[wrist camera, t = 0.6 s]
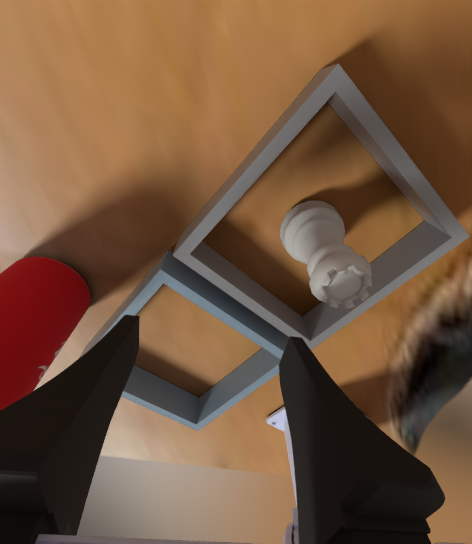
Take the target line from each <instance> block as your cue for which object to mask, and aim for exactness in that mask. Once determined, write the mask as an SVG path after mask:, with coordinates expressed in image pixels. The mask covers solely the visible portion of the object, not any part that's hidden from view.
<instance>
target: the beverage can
mask: <svg viewBox="0 0 472 544" xmlns="http://www.w3.org/2000/svg"><path fill="white" fill-rule="evenodd" d="M89 305H90V292H89V289H88V286H87V284H86V283H85V281H84V280H83V279H82V277H81V276H80V275H79V274H78V273H77V272H76V271H75V270H73V269H72V268H71V267H69V266H67V265H66V264H64V263H62V262H59V261H57V260H54V259H51V258H46V257H27V258H23V259H20V260H18V261H16V262H15V263H14V264H12V265H11V266H10V267H8V268H7V269H6V270H5V271H3V272H2V273H1V274H0V410H2V409H4V408H6V407H7V406H9V405H11V404H13V403H14V402H16V401H18V400H19V399H21V398H23V397H25V396H26V395H28V394H30V393H31V392H33V390H34V389H35V387H36V386H37V384H38V383H39V381H40V380H41V378H42V377H43V375H44V374H45V372H46V371H47V369H48V368H49V366H50V365H51V363H52V362H53V360H54V359H55V357H56V356H57V354H58V353H59V351H60V350H61V348H62V347H63V345H64V344H65V342H66V341H67V339H68V338H69V336H70V335H71V333H72V332H73V330H74V329H75V327H76V326H77V324H78V323H79V321H80V320H81V318H82V317H83V315H84V314H85V312H86V311H87V309H88V307H89Z"/></svg>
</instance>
